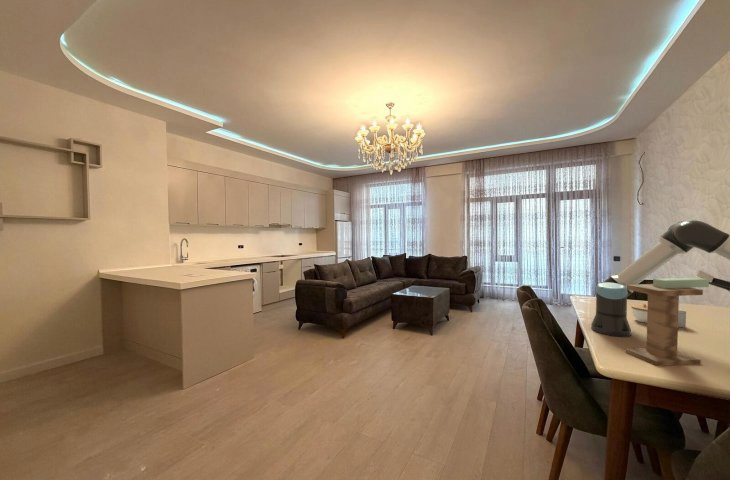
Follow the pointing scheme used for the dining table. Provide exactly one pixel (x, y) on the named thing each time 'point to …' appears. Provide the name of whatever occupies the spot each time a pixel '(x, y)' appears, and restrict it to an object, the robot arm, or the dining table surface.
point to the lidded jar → (640, 312)
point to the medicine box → (681, 318)
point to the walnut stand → (663, 325)
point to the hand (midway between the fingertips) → (718, 274)
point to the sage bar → (680, 282)
